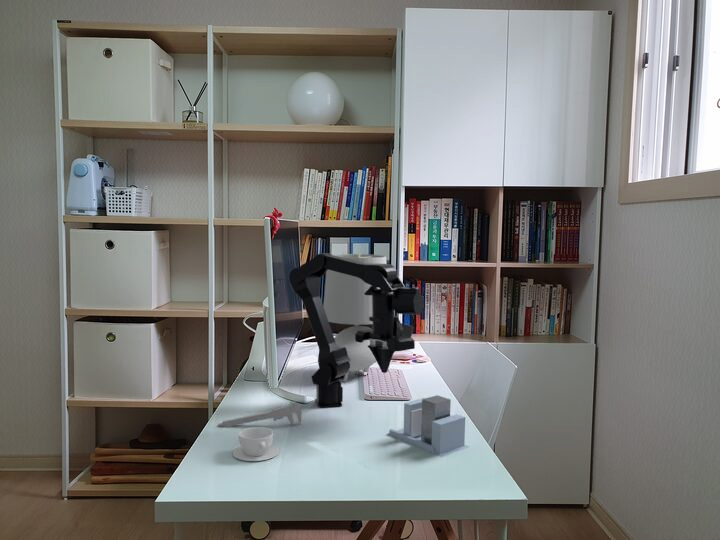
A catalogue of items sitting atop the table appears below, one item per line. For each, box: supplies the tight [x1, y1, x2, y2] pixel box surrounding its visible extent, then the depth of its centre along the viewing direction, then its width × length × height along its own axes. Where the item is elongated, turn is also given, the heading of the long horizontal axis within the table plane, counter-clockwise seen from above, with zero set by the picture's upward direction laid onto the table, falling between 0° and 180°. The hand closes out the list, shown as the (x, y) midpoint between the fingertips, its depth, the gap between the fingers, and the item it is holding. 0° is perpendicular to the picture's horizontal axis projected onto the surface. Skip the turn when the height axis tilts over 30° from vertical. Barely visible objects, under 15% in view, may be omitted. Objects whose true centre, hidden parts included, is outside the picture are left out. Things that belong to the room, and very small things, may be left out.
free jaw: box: [403, 397, 425, 438], centre depth 136 cm, size 2×6×8 cm, turn 130°
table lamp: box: [323, 253, 388, 383], centre depth 190 cm, size 23×22×40 cm
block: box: [421, 394, 452, 445], centre depth 132 cm, size 4×5×10 cm
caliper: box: [216, 400, 302, 428], centre depth 145 cm, size 20×1×6 cm, turn 97°
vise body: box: [387, 413, 470, 457], centre depth 134 cm, size 17×9×8 cm, turn 40°
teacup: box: [232, 426, 280, 462], centre depth 128 cm, size 10×10×5 cm
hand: (384, 372), depth 153 cm, fingers closed
